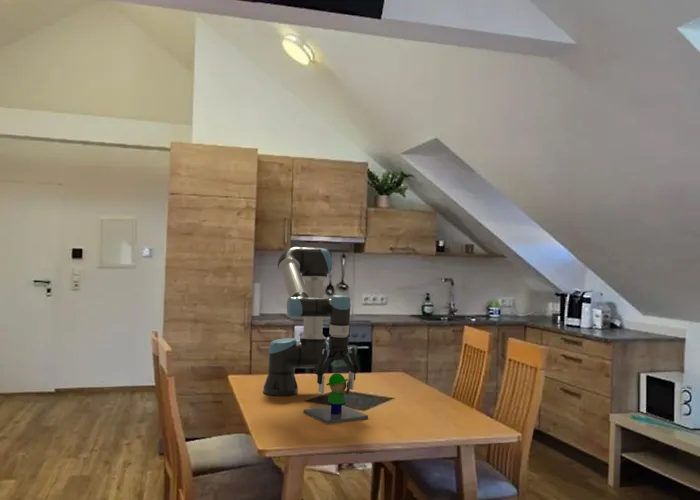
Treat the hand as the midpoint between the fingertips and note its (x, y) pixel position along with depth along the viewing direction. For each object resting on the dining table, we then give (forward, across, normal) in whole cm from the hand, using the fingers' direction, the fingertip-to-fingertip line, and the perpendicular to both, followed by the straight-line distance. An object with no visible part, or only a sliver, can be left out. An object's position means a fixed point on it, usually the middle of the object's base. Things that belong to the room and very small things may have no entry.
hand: (336, 390), depth 233 cm
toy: (+8, 0, -1) cm, 8 cm away
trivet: (+9, 0, -1) cm, 9 cm away
